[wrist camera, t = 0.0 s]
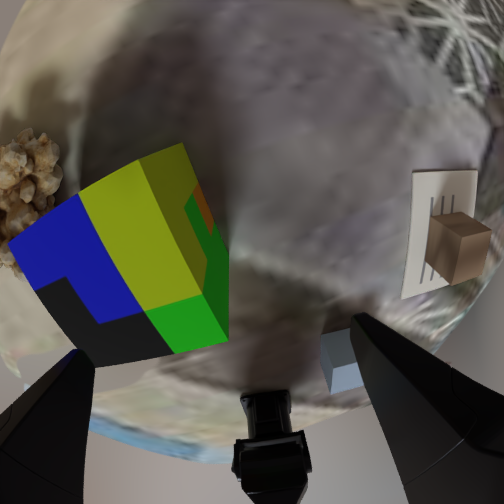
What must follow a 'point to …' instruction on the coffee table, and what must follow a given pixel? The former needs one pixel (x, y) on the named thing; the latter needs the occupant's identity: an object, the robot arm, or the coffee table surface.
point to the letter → (422, 208)
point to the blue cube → (339, 362)
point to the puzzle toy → (132, 263)
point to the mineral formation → (25, 188)
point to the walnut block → (457, 246)
